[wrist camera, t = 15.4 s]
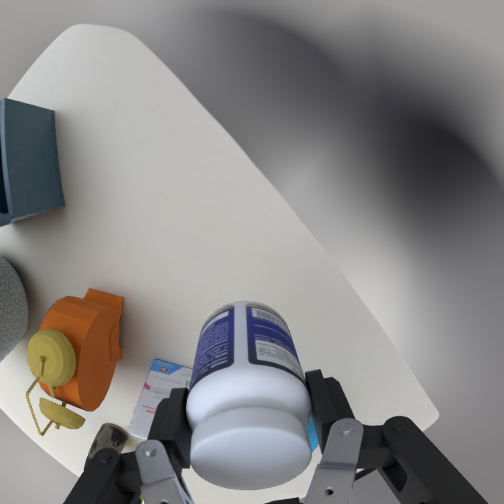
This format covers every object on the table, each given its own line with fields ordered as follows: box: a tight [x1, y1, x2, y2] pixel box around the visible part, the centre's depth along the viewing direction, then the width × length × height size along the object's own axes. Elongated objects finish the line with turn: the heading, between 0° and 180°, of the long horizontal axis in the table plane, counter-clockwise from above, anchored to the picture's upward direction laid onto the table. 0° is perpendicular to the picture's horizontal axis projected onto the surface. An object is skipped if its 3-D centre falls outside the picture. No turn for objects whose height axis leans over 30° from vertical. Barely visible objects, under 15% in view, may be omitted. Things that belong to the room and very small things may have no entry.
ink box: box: [128, 359, 193, 440], centre depth 33 cm, size 8×5×15 cm, turn 74°
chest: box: [0, 98, 65, 227], centre depth 27 cm, size 14×12×11 cm
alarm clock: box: [26, 288, 124, 436], centre depth 28 cm, size 13×6×20 cm, turn 168°
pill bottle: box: [186, 301, 312, 490], centre depth 14 cm, size 6×6×10 cm
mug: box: [84, 423, 128, 470], centre depth 38 cm, size 8×6×12 cm
